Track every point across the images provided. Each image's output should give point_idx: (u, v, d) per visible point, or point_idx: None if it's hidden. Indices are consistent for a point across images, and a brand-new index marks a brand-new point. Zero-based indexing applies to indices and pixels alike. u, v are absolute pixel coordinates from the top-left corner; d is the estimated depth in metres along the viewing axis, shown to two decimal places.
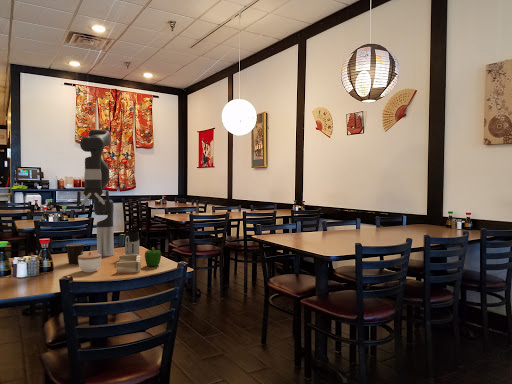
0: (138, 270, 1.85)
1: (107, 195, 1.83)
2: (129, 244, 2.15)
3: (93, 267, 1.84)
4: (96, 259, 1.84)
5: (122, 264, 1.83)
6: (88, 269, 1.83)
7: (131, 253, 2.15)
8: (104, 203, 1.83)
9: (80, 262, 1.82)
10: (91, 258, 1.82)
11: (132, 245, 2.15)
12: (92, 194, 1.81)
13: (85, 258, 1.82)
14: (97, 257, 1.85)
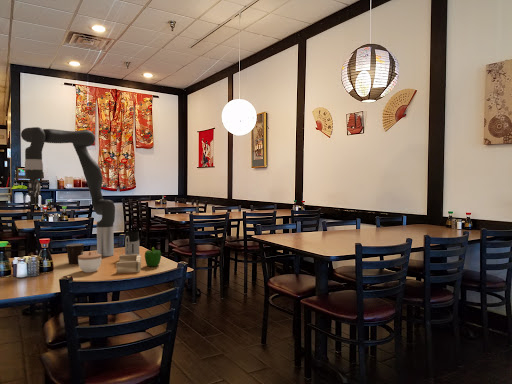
0: (138, 270, 1.85)
1: (40, 187, 1.89)
2: (129, 244, 2.15)
3: (93, 267, 1.84)
4: (96, 259, 1.84)
5: (122, 264, 1.83)
6: (88, 269, 1.83)
7: (131, 253, 2.15)
8: None
9: (80, 262, 1.82)
10: (91, 258, 1.82)
11: (132, 245, 2.15)
12: None
13: (85, 258, 1.82)
14: (97, 257, 1.85)
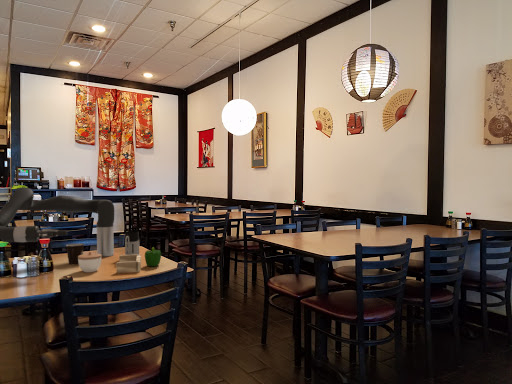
0: (138, 270, 1.85)
1: None
2: (129, 244, 2.15)
3: (93, 267, 1.84)
4: (96, 259, 1.84)
5: (122, 264, 1.83)
6: (88, 269, 1.83)
7: (131, 253, 2.15)
8: (58, 230, 1.83)
9: (80, 262, 1.82)
10: (91, 258, 1.82)
11: (132, 245, 2.15)
12: None
13: (85, 258, 1.82)
14: (97, 257, 1.85)
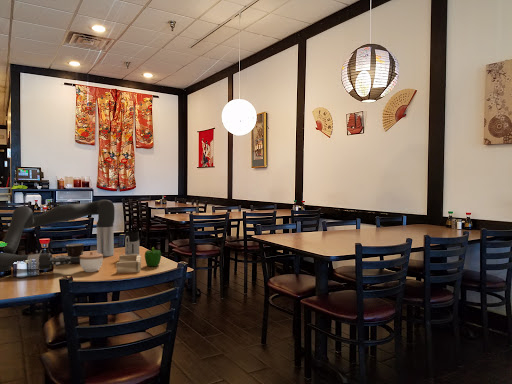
0: (138, 270, 1.85)
1: None
2: (129, 244, 2.15)
3: (95, 267, 1.84)
4: (98, 259, 1.84)
5: (122, 264, 1.83)
6: (90, 269, 1.83)
7: (131, 253, 2.15)
8: (70, 256, 1.85)
9: (82, 262, 1.82)
10: (93, 258, 1.83)
11: (132, 245, 2.15)
12: None
13: (87, 258, 1.82)
14: (99, 257, 1.85)
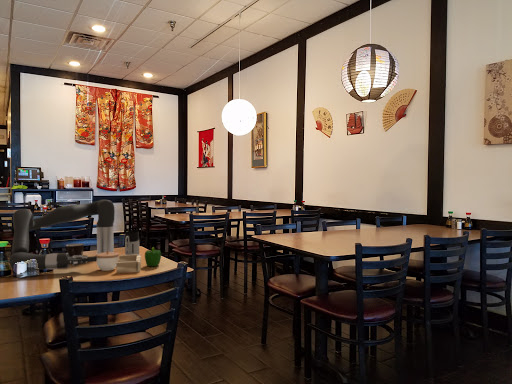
0: (138, 270, 1.85)
1: (81, 255, 1.89)
2: (129, 244, 2.15)
3: (113, 265, 1.87)
4: (115, 257, 1.88)
5: (122, 264, 1.83)
6: (108, 267, 1.86)
7: (131, 253, 2.15)
8: (87, 256, 1.86)
9: (100, 261, 1.85)
10: (111, 256, 1.86)
11: (132, 245, 2.15)
12: None
13: (106, 256, 1.84)
14: (116, 255, 1.88)
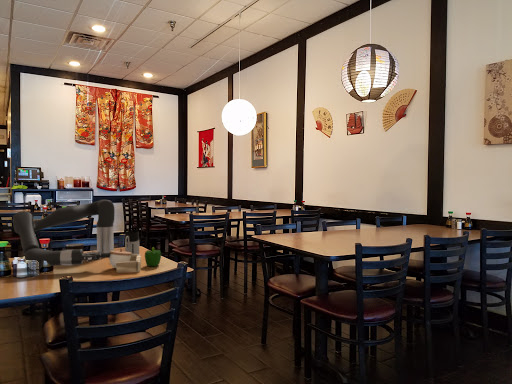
0: (138, 270, 1.85)
1: None
2: (129, 244, 2.15)
3: None
4: (130, 256, 1.92)
5: (122, 264, 1.83)
6: None
7: None
8: (101, 252, 1.89)
9: (115, 257, 1.87)
10: (127, 254, 1.90)
11: (132, 245, 2.15)
12: None
13: (121, 254, 1.88)
14: (130, 254, 1.92)
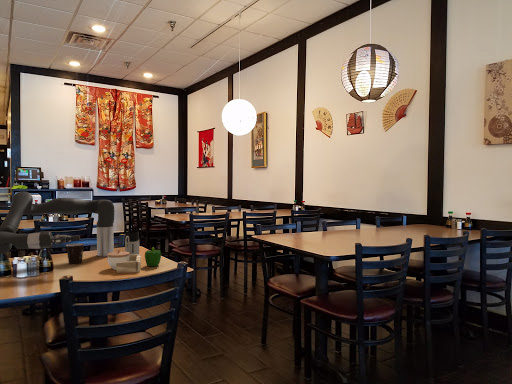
0: (138, 270, 1.85)
1: None
2: (129, 244, 2.15)
3: None
4: (127, 256, 1.91)
5: (122, 264, 1.83)
6: None
7: (131, 253, 2.15)
8: (70, 235, 1.85)
9: (113, 260, 1.87)
10: (124, 255, 1.89)
11: (132, 245, 2.15)
12: None
13: (118, 256, 1.87)
14: (128, 254, 1.92)
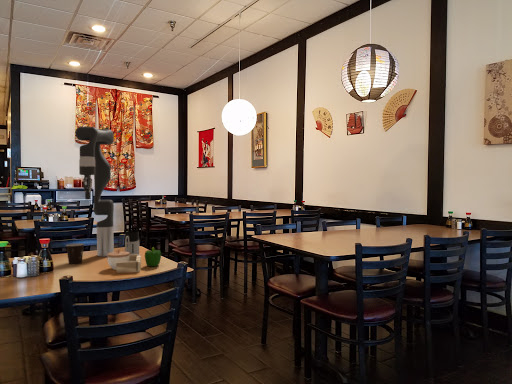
0: (138, 270, 1.85)
1: None
2: (129, 244, 2.15)
3: None
4: (127, 256, 1.91)
5: (122, 264, 1.83)
6: None
7: (131, 253, 2.15)
8: (90, 191, 1.96)
9: (113, 260, 1.87)
10: (124, 255, 1.89)
11: (132, 245, 2.15)
12: None
13: (118, 256, 1.87)
14: (128, 254, 1.92)
